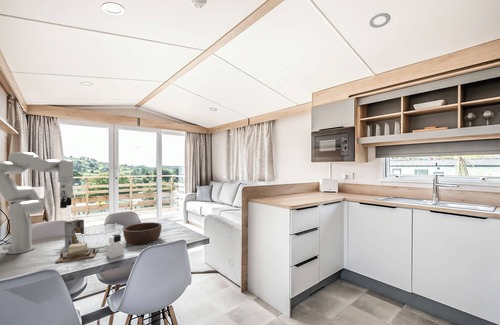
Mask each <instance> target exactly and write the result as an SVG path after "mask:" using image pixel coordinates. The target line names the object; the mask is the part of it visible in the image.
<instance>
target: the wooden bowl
mask: <svg viewBox="0 0 500 325" xmlns="http://www.w3.org/2000/svg"><path fill="white" fill-rule="evenodd" d="M122 232H123V238H124V240H125V243H127V244H129V245H131V246H143V245H149V244H152V243H154V242H156V241H158V239H159V238H160V236H161V233H162V224H161V223H159V222H153V221H152V222H151V221H149V222H147V221H146V222H139V223H138V222H137V223H134V224H130V225H127V226H124V228H122Z"/></svg>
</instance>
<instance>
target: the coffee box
mask: <svg viewBox="0 0 500 325" xmlns="http://www.w3.org/2000/svg"><path fill="white" fill-rule="evenodd" d="M75 233H81V234H84V235H85V219H73V220H69V221H65V222H64V247H69V246H70V245H71V244H79V241H78V240H77V237H76V235H75Z"/></svg>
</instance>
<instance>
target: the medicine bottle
mask: <svg viewBox="0 0 500 325" xmlns="http://www.w3.org/2000/svg"><path fill="white" fill-rule="evenodd" d="M108 241H109V243H107V244H106V246H105V247H106V248H105V249H106V256H107V257H108V258H109V259H116V258H119V257H122V256H124V255H125V250H124V248H125V245H124V243H123V242H122V237H121V234H112V235H110V236H109V237H108Z"/></svg>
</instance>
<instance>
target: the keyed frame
mask: <svg viewBox="0 0 500 325" xmlns="http://www.w3.org/2000/svg"><path fill="white" fill-rule="evenodd" d="M98 252H99V249H98V248H95V247H94V248H87V253H85V254H78V255H71V256H69V251H67V252H65V253H64V252H60V253H59V257H58V258H57V260H55V261H54V262H55V264H60V263H67V262H68V263H69V262H74V261H83V260H88V259H95V256H96V255H97V253H98Z"/></svg>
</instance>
